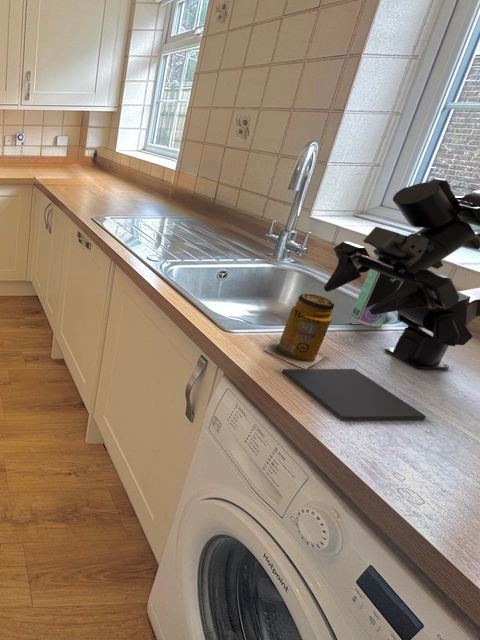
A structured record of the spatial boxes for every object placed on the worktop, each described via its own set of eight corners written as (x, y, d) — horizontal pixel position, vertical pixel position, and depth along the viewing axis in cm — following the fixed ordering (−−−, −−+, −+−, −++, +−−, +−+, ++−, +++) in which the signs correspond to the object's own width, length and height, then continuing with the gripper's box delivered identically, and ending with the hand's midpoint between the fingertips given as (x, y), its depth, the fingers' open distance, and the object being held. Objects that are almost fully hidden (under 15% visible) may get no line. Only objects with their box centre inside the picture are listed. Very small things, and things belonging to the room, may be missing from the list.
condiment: (324, 357, 80) (347, 302, 75) (305, 370, 76) (328, 313, 71) (282, 339, 86) (301, 287, 81) (262, 350, 81) (281, 296, 77)
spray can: (373, 328, 91) (411, 244, 84) (344, 317, 96) (378, 236, 89) (386, 324, 93) (424, 242, 86) (357, 313, 98) (391, 234, 91)
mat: (353, 372, 76) (354, 368, 75) (424, 419, 64) (426, 415, 64) (281, 372, 75) (282, 369, 74) (340, 420, 63) (342, 416, 63)
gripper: (360, 201, 79) (288, 253, 82) (477, 230, 61) (379, 295, 65) (382, 240, 82) (311, 289, 85) (499, 278, 65) (405, 338, 68)
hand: (346, 300), depth 76 cm, fingers open, 9 cm apart
